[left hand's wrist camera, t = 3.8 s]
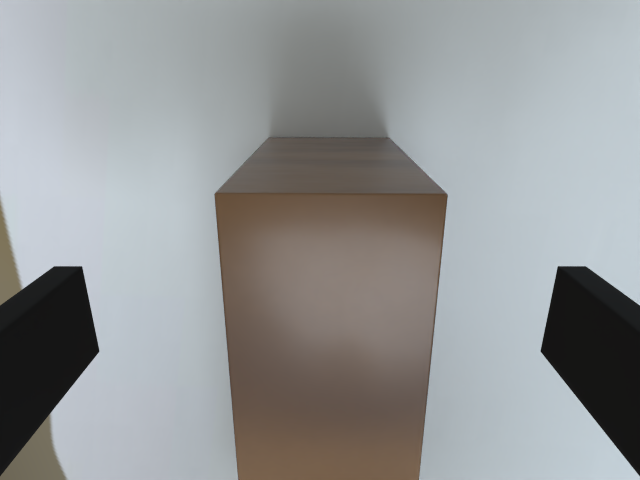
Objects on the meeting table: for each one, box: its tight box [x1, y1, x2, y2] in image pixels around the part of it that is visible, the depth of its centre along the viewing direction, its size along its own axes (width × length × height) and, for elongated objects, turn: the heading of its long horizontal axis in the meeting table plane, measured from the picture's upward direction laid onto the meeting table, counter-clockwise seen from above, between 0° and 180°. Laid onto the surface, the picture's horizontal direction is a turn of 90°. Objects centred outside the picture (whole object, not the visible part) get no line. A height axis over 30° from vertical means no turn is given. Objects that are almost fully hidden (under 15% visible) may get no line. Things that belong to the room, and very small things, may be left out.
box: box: [215, 138, 448, 480], centre depth 20 cm, size 22×6×11 cm, turn 0°
